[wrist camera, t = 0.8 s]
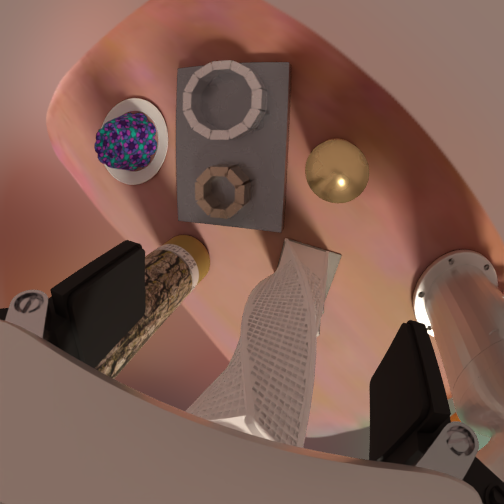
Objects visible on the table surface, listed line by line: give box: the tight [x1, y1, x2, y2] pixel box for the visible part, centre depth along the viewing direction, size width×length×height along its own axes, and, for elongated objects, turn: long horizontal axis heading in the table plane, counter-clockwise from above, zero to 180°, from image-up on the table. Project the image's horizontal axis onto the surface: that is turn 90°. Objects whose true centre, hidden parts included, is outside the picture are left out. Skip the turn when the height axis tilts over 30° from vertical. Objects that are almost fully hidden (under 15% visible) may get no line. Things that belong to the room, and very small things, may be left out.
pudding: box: [95, 98, 168, 185], centre depth 35 cm, size 12×12×5 cm
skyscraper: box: [185, 238, 341, 448], centre depth 25 cm, size 8×8×28 cm
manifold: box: [176, 60, 291, 232], centre depth 32 cm, size 13×19×4 cm
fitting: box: [305, 138, 369, 203], centre depth 27 cm, size 5×5×10 cm
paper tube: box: [94, 235, 210, 379], centre depth 30 cm, size 7×7×25 cm
